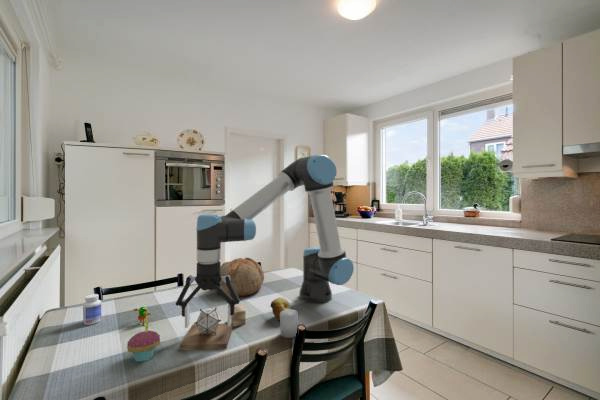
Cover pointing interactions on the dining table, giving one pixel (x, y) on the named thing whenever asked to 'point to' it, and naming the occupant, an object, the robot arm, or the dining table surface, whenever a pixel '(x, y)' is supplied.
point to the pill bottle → (92, 309)
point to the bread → (243, 276)
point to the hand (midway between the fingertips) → (208, 325)
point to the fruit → (279, 306)
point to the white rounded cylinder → (288, 323)
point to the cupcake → (143, 344)
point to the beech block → (238, 316)
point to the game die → (207, 321)
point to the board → (207, 338)
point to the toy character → (142, 314)
